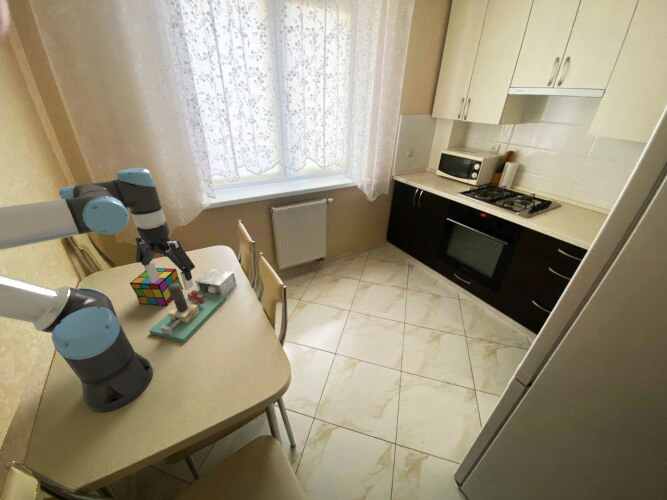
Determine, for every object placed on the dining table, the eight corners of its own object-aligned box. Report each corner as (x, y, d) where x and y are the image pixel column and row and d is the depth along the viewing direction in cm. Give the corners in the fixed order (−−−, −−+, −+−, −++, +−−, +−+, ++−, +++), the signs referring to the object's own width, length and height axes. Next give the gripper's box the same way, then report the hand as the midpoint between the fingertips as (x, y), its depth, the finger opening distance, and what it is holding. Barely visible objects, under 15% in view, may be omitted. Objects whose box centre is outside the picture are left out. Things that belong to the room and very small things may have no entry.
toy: (183, 289, 112) (176, 268, 107) (167, 306, 103) (158, 284, 98) (157, 287, 113) (149, 267, 108) (139, 304, 104) (129, 283, 99)
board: (185, 342, 87) (181, 333, 85) (150, 333, 90) (146, 325, 88) (226, 299, 105) (224, 291, 103) (196, 293, 109) (193, 285, 107)
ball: (218, 282, 107) (222, 289, 110) (210, 281, 108) (213, 287, 111) (213, 290, 105) (216, 296, 107) (204, 289, 106) (208, 295, 108)
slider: (187, 323, 92) (175, 293, 85) (170, 319, 94) (158, 289, 87) (208, 303, 101) (199, 274, 94) (192, 300, 102) (182, 271, 96)
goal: (223, 298, 106) (219, 285, 102) (199, 294, 108) (194, 280, 105) (236, 285, 113) (233, 272, 110) (213, 281, 116) (210, 268, 113)
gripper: (197, 224, 78) (212, 283, 88) (129, 214, 84) (151, 272, 94) (177, 234, 72) (196, 297, 82) (106, 224, 78) (131, 284, 88)
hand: (172, 284), depth 88 cm, fingers open, 13 cm apart
